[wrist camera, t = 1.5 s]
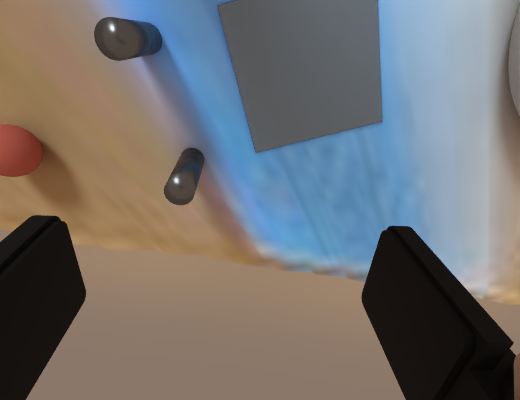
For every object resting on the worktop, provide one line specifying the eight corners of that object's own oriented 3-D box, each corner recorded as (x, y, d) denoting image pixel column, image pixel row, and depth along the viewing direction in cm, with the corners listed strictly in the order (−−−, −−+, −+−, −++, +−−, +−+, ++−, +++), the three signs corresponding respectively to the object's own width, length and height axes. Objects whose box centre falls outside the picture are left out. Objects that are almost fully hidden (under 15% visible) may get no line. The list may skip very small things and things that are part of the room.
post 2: (177, 151, 32) (159, 182, 25) (199, 145, 32) (188, 175, 25) (185, 172, 34) (170, 208, 27) (207, 167, 34) (198, 201, 27)
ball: (-11, 125, 30) (-54, 141, 26) (34, 113, 30) (-1, 126, 25) (20, 169, 33) (-15, 190, 28) (62, 159, 32) (34, 178, 28)
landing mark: (217, 5, 26) (217, 5, 26) (375, -39, 25) (376, -40, 25) (255, 152, 33) (255, 152, 33) (381, 120, 32) (382, 121, 32)
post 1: (127, 26, 27) (86, 23, 20) (155, 18, 26) (123, 12, 19) (139, 57, 28) (105, 64, 21) (166, 50, 28) (140, 55, 21)
